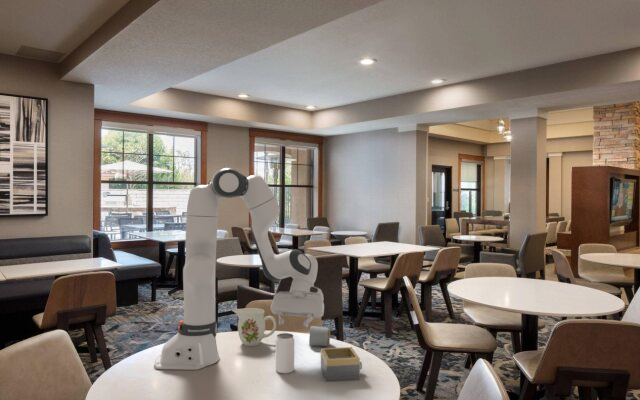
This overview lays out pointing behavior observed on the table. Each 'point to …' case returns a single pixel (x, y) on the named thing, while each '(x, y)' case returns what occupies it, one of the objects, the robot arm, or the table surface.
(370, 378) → the table surface
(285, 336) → the can
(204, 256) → the robot arm
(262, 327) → the pitcher
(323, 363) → the drawer
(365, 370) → the table surface
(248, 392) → the table surface
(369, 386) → the table surface
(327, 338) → the ceramic mug
